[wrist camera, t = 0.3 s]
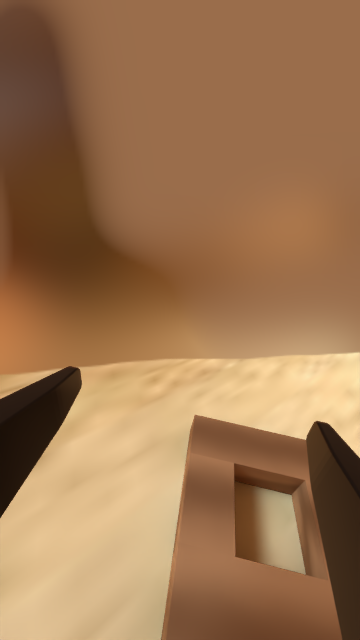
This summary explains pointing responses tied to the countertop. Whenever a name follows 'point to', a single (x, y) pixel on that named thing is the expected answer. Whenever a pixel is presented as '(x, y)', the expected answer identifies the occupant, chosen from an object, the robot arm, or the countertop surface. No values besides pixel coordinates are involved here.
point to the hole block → (219, 544)
